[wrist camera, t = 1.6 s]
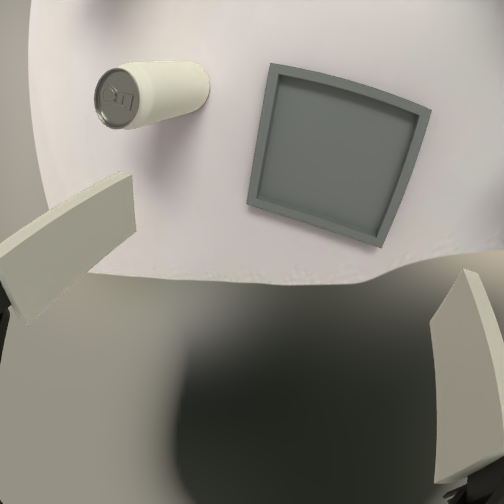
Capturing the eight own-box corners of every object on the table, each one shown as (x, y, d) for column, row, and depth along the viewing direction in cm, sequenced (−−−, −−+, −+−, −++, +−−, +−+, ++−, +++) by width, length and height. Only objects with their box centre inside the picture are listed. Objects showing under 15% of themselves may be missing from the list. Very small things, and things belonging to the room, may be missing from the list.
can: (173, 56, 28) (98, 58, 19) (219, 70, 28) (151, 71, 18) (159, 103, 32) (86, 122, 23) (201, 120, 32) (134, 143, 22)
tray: (275, 64, 26) (270, 62, 24) (427, 108, 23) (431, 110, 21) (251, 198, 35) (246, 203, 34) (380, 240, 32) (381, 248, 31)
